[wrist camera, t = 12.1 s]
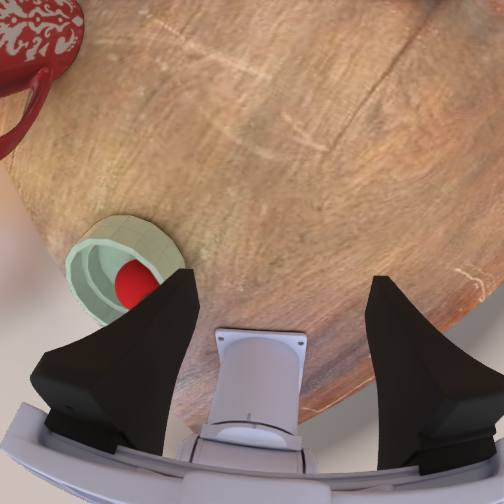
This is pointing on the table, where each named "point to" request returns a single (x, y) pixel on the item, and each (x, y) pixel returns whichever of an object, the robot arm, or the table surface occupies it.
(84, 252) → the bowl
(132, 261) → the tomato
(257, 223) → the table surface
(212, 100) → the table surface
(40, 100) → the mug
